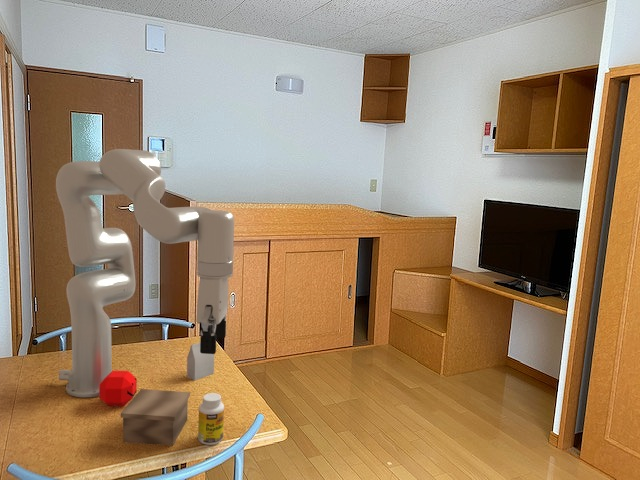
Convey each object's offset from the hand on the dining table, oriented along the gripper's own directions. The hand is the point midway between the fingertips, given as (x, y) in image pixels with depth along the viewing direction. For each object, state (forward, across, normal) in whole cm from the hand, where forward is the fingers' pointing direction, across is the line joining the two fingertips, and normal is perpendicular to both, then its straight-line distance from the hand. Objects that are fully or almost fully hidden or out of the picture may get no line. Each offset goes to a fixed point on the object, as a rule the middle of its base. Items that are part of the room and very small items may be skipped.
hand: (213, 344), depth 110 cm
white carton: (+22, -33, -11) cm, 41 cm away
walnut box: (+22, -2, -13) cm, 26 cm away
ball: (+22, -14, -27) cm, 38 cm away
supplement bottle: (+22, 0, 0) cm, 23 cm away
